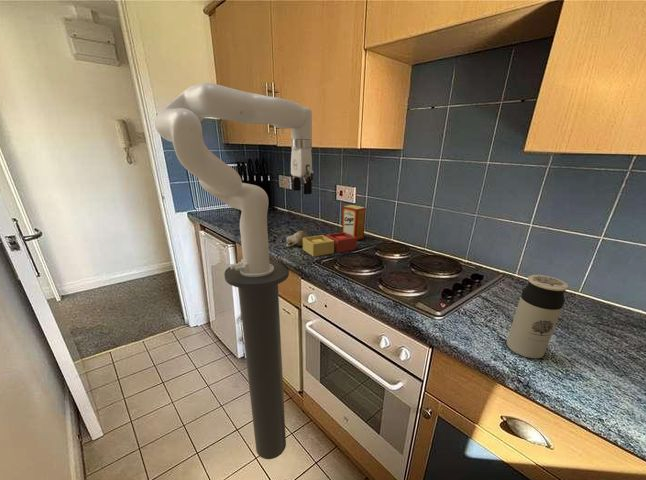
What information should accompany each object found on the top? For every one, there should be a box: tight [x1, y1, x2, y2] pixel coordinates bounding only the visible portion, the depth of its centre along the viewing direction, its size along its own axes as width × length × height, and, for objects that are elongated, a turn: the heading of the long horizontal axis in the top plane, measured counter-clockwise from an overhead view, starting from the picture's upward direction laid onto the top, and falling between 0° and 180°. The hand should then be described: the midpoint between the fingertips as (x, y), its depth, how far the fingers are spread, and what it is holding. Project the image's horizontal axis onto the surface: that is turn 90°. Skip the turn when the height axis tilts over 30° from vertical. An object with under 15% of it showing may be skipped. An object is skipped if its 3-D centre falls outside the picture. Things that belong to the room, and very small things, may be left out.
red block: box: [335, 236, 348, 240], centre depth 138 cm, size 4×4×4 cm
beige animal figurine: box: [285, 230, 309, 248], centre depth 139 cm, size 8×10×10 cm
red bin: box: [325, 231, 358, 253], centre depth 138 cm, size 10×10×6 cm
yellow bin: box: [302, 234, 335, 257], centre depth 132 cm, size 10×10×6 cm
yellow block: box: [311, 239, 325, 244], centre depth 132 cm, size 4×4×4 cm
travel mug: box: [505, 274, 569, 359], centre depth 69 cm, size 8×8×18 cm
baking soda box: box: [341, 204, 367, 241], centre depth 151 cm, size 10×6×16 cm
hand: (302, 192), depth 118 cm, fingers open, 9 cm apart
